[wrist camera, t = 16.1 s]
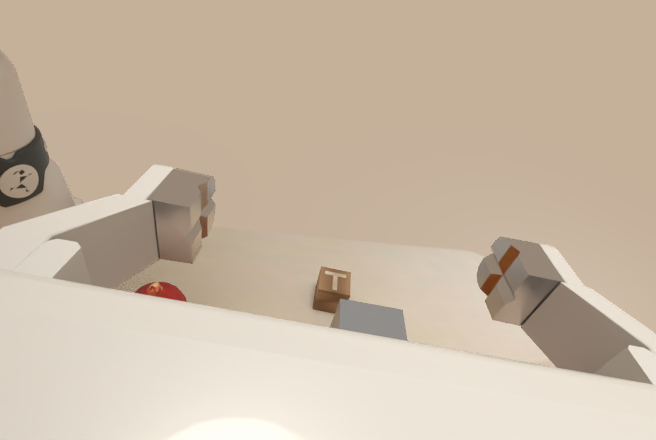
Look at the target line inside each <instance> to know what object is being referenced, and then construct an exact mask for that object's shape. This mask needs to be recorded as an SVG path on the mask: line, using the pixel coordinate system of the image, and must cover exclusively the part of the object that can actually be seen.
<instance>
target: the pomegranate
mask: <svg viewBox="0 0 656 440" xmlns="http://www.w3.org/2000/svg"><path fill="white" fill-rule="evenodd" d="M135 293H139V294H145V295H150V296H156V297H162V298H167V299H173V300H178V301H184V302H186V298H185V296H184V295H183V293H182V292H181V291H180V290H179V289H178V288H177V287H176V286H173V285H171V284H169V283H165V282H153V283H149V284H147V285H144V286H142V287H140V288H139V289H138V290H137V291H136V292H135Z"/></svg>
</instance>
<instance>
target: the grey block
mask: <svg viewBox="0 0 656 440" xmlns="http://www.w3.org/2000/svg"><path fill="white" fill-rule="evenodd" d="M330 327H331V328H337V329H342V330H348V331H354V332H359V333H365V334H371V335H376V336H382V337H388V338H393V339H399V340H405V341H407V336H406V329H405V323H404V316H403V310H401V309H395V308H389V307H384V306H378V305H373V304H367V303H362V302H356V301H351V300H345V299H340V301H339V304H338V306H337V309H336V312H335V315H334V318H333V321H332V323H331V326H330Z"/></svg>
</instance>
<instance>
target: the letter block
mask: <svg viewBox="0 0 656 440" xmlns="http://www.w3.org/2000/svg"><path fill="white" fill-rule="evenodd" d="M350 278H351V273H350V272H346V271H341V270H336V269H331V268H326V267H321V270H320V273H319V277H318V281H317V284H316V290H315V297H314V304H313V309H315V310H320V311H325V312H330V313H335V312H336V309H337V306H338V304H339V301H340V299H345V300H348V299H349V297H350Z"/></svg>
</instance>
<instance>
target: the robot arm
mask: <svg viewBox="0 0 656 440" xmlns="http://www.w3.org/2000/svg"><path fill="white" fill-rule="evenodd" d="M214 192H215V179H214V177H213V176H209V175H204V174H200V173H195V172H191V171H186V170H182V169H178V168H174V167H169V166H164V165H159V164H157V165H153V166H152V167H151V168H150V169H149V170H148V171H147V172H146V173H145V174H144V175H143V176H142V177H141V178H140V179H139V180H138V181H136V183H134V184H133V185H132V186H131V187H130V188H129V190H127V191H126V192H125V193H124V194H123V195H121V194H114V195H110V196H107V197H104V198H100V199H97V200H93V201H90V202H87V203H83V202H82V200H80V199H78V198H75V197H73V196H72V193H71V191H70V189H69V186H68V184H67V181H66V179H65V176H64V174H63V172H62V169H61V167H60V165H59V164H58V163H57V162H56V161H53V160H51V159H49V156H48V152H47V146H46V143H45V141H44V139H43V138H42V135H41V133H40V131H39V129H38V128H37V127H36V126H35V125H33V122H32V119H31V116H30V113H29V109H28V106H27V103H26V100H25V97H24V94H23V91H22V88H21V84H20V81H19V78H18V75H17V72H16V69H15V67H14V65H13V64H12V62H11V61H10V60H9V58H8V57H7V56H6V55H5V54H4V53H3V52H2V51H1V50H0V440H656V334H655V333H654V332H652V331H651V330H650V329H648V328H647V327H645V326H644V325H642V324H641V323H640V322H638V321H637V320H635V319H634V318H632V317H631V316H630V315H628V314H627V313H625V312H624V311H622V310H621V309H620V308H618V307H617V306H615V305H614V304H612V303H611V302H610V301H608V300H607V299H605V298H604V297H602V296H601V295H600V294H598V293H597V292H595V291H594V290H592V289H591V288H588V287H585V286H584V285H583V284H582V282H581V281H580V280H579V278H578V277H577V275H576V274H575V273H574V271H573V270H572V269H571V267H570V266H569V265H568V263H567V262H566V261H565V259H564V258H563V256H562V255H561V254H560V253H559V251H558V250H557V249H556V248H555V247H553V246H551V245H545V244H539V243H532V242H527V241H522V240H515V239H511V238H505V237H499V238H498V239H497V240H496V241H495V242H494V244H493V245H492V246H491V249H492V254H490V255H489V256H487V257H485V258H483V260H482V262H481V263H480V265H479V267H478V272H477V281H478V285H479V287H480V289H481V290H482V291H483V292H484V293H485V294H486V295H487V298H486V300H485V302H486V305H487V307H488V310H489V312H490V315H491V317H492V320H496V321H501V322H505V323H510V324H515V325H519V326H521V328H522V329H523V330H524V331H525V332H526V334H527V335H528V336H529V337H530V338H531V339H532V340H533V341H534V343H535V344H536V345H537V346H538V347H539V348H540V349H541V350H542V351H543V353H544V354H545V355H546V356H547V357H548V358H549V359H550V360H551V361H552V363H553V364H554V365H555V366H556V367H557V368H556V367H550V366H545V365H539V364H534V363H528V362H522V361H517V360H511V359H506V358H500V357H494V356H489V355H483V354H478V353H472V352H467V351H461V350H455V349H450V348H444V347H439V346H433V345H427V344H422V343H416V342H410V341H405V340H399V339H393V338H388V337H382V336H376V335H371V334H365V333H359V332H354V331H348V330H342V329H337V328H331V327H325V326H320V325H314V324H308V323H303V322H297V321H291V320H286V319H280V318H274V317H269V316H263V315H257V314H252V313H246V312H241V311H235V310H229V309H224V308H218V307H212V306H207V305H201V304H195V303H190V302H184V301H178V300H173V299H167V298H162V297H156V296H150V295H145V294H139V293H133V292H128V291H122V290H116V289H113V288H114V287H116V286H118V285H119V284H121V283H123V282H124V281H126V280H127V279H129V278H131V277H132V276H134V275H136V274H137V273H139V272H140V271H142V270H144V269H145V268H147V267H149V266H150V265H152V264H154V263H155V262H157V261H158V260H159V259H165V260H171V261H178V262H184V263H190V264H193V262H194V260H195V258H196V256H197V255H198V253H199V251H200V249H201V247H202V239H203V238H205V237H207V236H208V234H209V232H210V230H211V228H212V224H213V221H214V215H215V203H214V202H213V200H212V199H211V197H212V196H213V194H214Z"/></svg>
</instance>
